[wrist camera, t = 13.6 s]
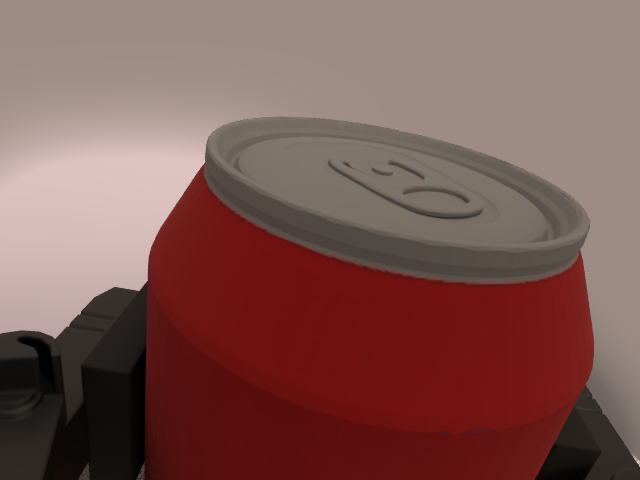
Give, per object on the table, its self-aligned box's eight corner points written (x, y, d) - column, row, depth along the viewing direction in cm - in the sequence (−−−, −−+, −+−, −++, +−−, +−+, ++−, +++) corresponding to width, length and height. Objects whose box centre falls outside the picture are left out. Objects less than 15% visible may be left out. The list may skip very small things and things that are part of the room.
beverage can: (318, 456, 16) (401, 114, 11) (468, 668, 11) (739, 237, 6) (112, 553, 12) (92, 96, 7) (208, 937, 7) (360, 385, 2)
